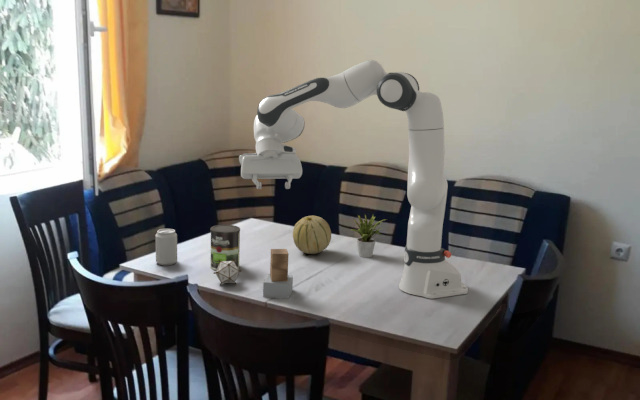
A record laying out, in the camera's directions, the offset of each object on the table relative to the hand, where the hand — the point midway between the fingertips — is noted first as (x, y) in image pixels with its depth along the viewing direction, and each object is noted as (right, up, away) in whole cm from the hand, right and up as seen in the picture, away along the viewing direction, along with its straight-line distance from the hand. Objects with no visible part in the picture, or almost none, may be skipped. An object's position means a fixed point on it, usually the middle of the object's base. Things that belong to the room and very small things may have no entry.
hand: (273, 188), depth 207 cm
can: (-40, -26, +20) cm, 52 cm away
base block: (+2, -34, -5) cm, 34 cm away
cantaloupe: (+12, -24, +38) cm, 47 cm away
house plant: (+33, -26, +36) cm, 55 cm away
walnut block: (+2, -29, -6) cm, 29 cm away
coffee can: (-18, -28, +18) cm, 38 cm away
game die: (-15, -31, +2) cm, 35 cm away
